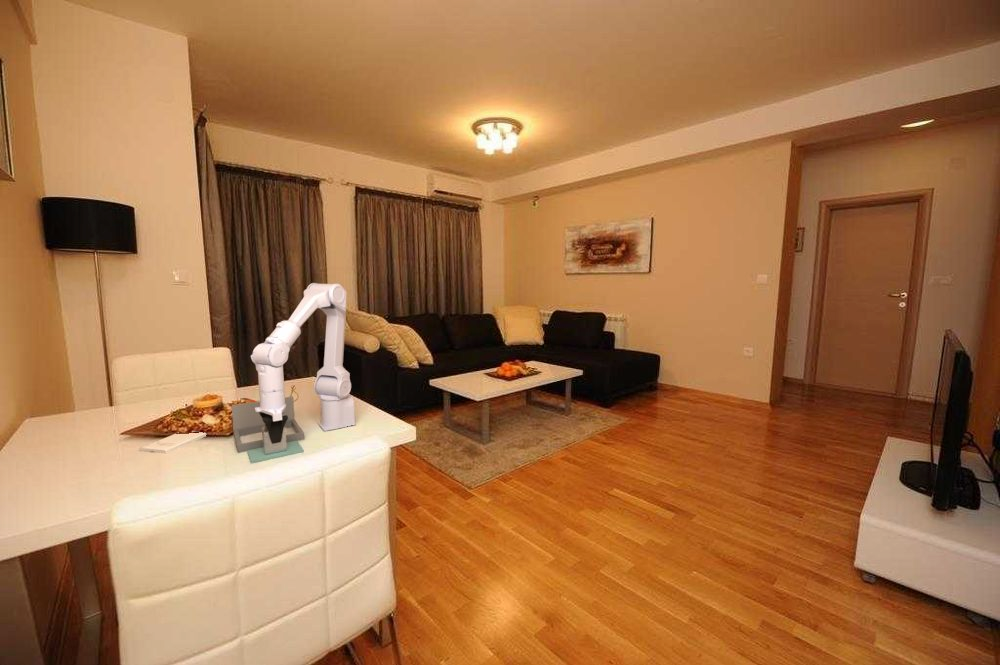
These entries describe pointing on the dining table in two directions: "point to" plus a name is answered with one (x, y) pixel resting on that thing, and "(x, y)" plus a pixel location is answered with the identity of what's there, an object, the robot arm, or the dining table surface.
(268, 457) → the module mat
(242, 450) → the equipment case
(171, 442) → the external hard drive
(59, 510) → the dining table surface
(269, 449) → the block
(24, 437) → the dining table surface
